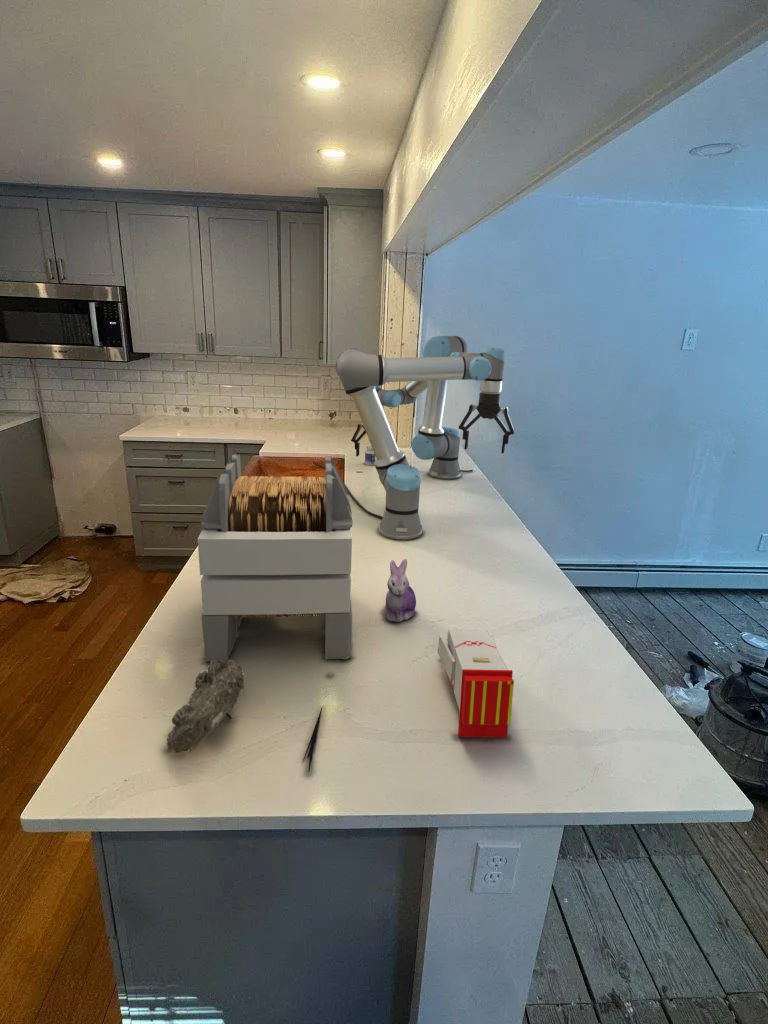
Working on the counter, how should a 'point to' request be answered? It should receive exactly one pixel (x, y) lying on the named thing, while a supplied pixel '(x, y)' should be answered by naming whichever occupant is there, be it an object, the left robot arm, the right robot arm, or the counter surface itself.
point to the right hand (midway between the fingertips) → (370, 457)
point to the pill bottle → (369, 456)
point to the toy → (478, 682)
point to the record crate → (276, 555)
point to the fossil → (206, 705)
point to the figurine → (399, 594)
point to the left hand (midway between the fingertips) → (484, 450)
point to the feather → (313, 740)
